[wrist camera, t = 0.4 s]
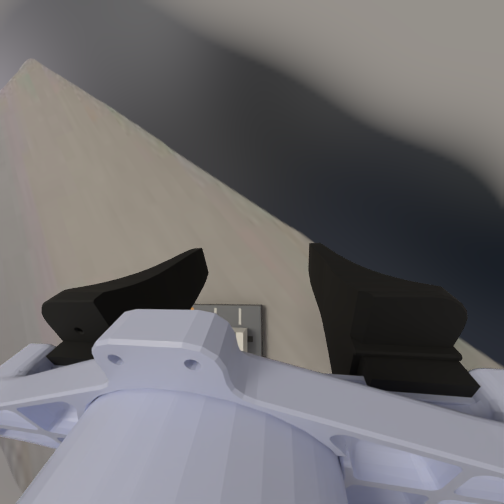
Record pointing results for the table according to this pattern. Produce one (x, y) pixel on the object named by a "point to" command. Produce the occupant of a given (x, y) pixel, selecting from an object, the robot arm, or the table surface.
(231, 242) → the table surface
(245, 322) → the panel
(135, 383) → the robot arm
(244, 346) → the fader
